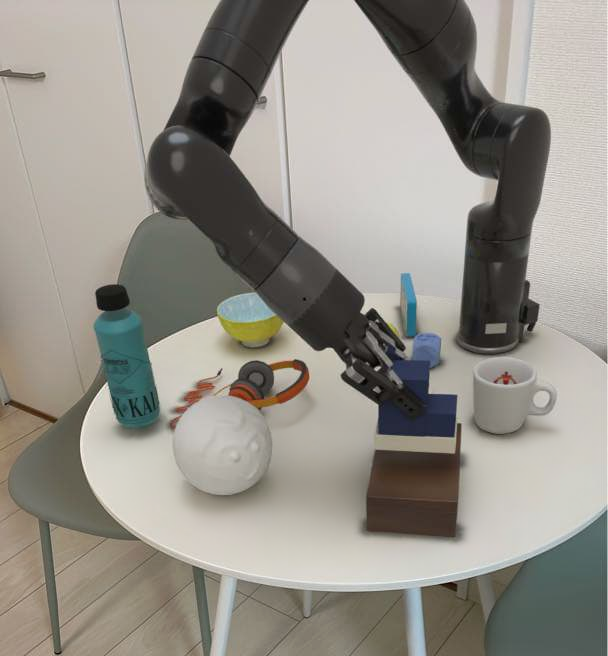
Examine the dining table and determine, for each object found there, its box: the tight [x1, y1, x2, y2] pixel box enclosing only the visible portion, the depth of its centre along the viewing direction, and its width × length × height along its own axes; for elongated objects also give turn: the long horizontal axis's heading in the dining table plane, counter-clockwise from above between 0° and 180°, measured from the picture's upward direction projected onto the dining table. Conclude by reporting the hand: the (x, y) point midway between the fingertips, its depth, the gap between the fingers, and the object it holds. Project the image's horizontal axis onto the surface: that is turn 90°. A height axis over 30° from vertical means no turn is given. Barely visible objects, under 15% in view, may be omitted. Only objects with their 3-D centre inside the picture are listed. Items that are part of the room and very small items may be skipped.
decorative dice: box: [411, 332, 442, 369], centre depth 115 cm, size 4×4×4 cm
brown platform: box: [365, 422, 463, 538], centre depth 90 cm, size 16×10×5 cm, turn 170°
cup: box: [472, 356, 558, 435], centre depth 98 cm, size 11×8×8 cm
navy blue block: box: [374, 359, 458, 454], centre depth 84 cm, size 9×5×9 cm, turn 80°
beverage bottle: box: [93, 283, 162, 428], centre depth 101 cm, size 6×7×20 cm
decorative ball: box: [172, 394, 273, 496], centre depth 91 cm, size 12×12×12 cm
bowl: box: [216, 292, 285, 348], centre depth 123 cm, size 11×12×6 cm
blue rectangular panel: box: [399, 272, 418, 338], centre depth 125 cm, size 12×2×6 cm, turn 179°
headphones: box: [169, 358, 310, 429], centre depth 108 cm, size 17×5×20 cm
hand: (421, 401), depth 83 cm, fingers closed on navy blue block, 4 cm apart
